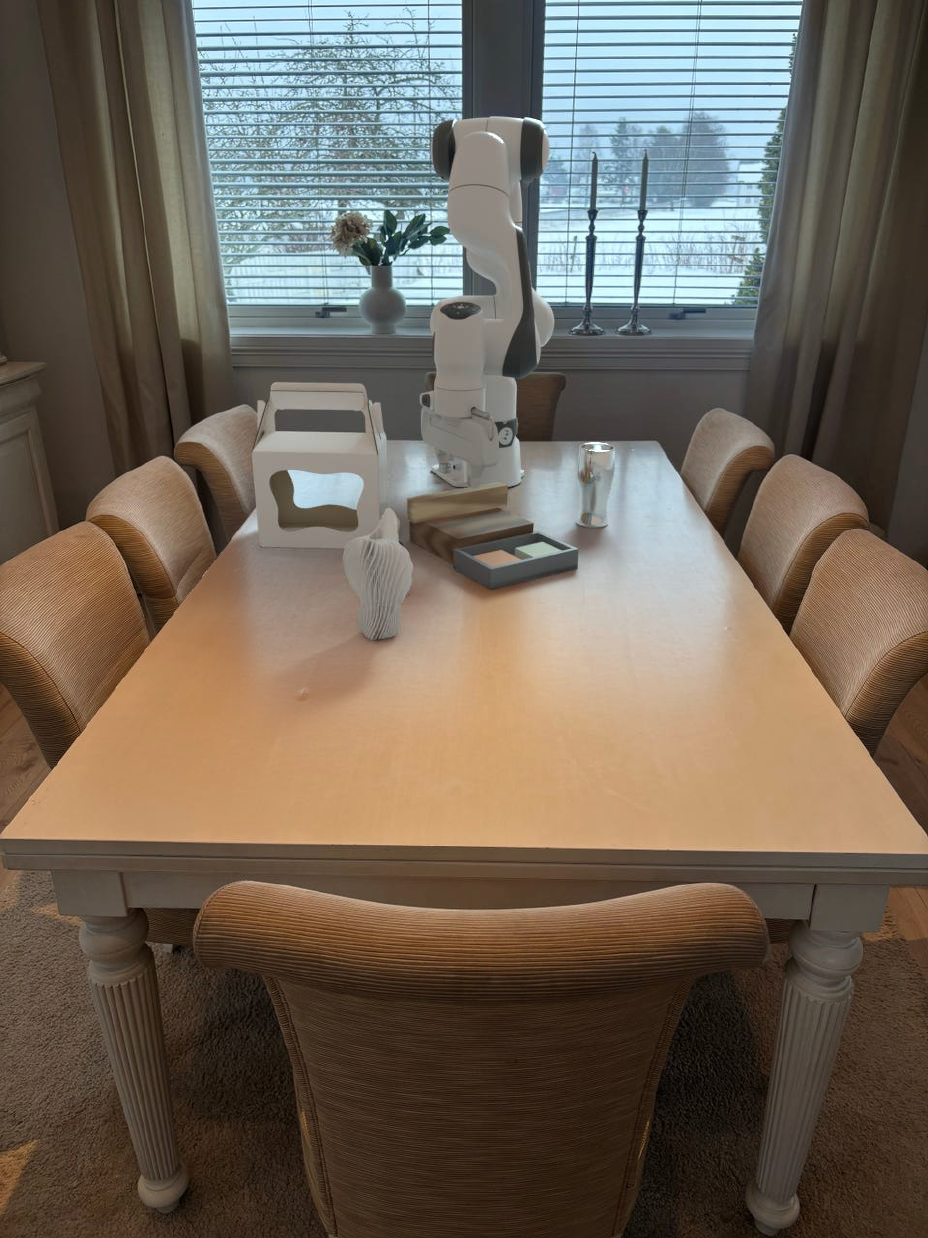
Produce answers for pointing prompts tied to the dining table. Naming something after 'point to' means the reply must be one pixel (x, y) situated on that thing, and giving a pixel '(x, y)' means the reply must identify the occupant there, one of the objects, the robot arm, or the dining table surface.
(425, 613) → the dining table surface
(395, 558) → the shell sculpture
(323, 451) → the gable box
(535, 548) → the sage tile
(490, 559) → the terracotta tile
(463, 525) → the dark wooden square block
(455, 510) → the bar
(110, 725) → the dining table surface
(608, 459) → the beer glass
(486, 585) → the box
